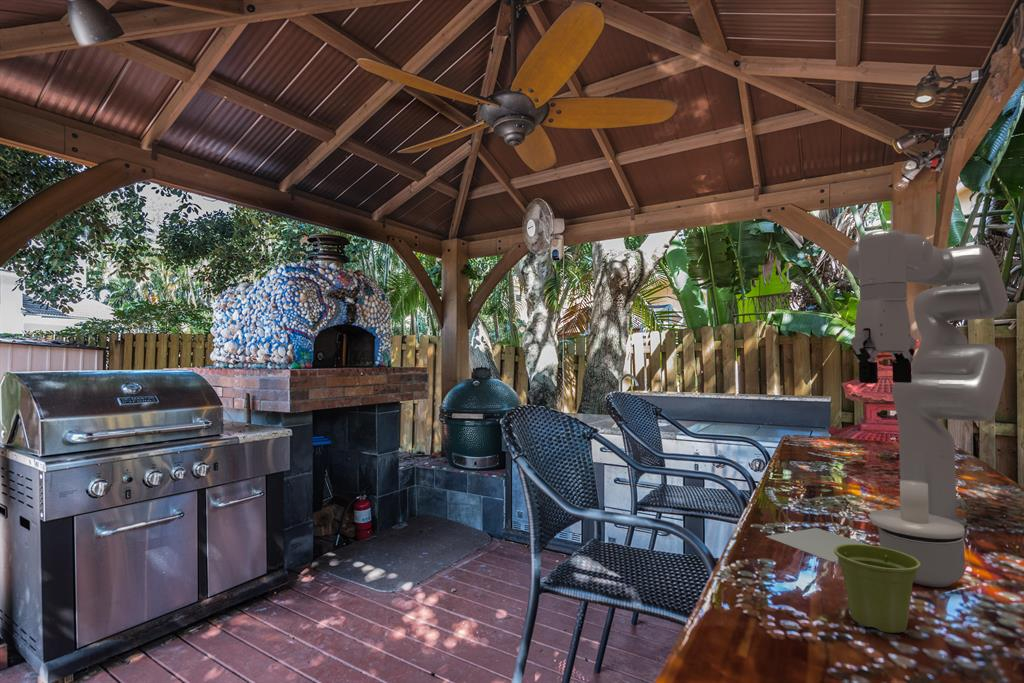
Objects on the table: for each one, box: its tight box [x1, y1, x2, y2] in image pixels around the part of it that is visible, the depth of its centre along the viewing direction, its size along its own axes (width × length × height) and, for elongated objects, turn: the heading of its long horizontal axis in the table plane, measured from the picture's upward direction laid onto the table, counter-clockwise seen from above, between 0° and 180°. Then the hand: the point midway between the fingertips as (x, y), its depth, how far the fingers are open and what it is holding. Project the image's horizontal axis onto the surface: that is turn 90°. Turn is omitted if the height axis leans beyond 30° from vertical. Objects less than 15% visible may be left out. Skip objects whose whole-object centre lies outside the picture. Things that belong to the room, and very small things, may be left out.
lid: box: [869, 479, 965, 539], centre depth 83 cm, size 12×12×7 cm
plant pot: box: [834, 544, 921, 634], centre depth 69 cm, size 9×9×9 cm
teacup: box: [877, 526, 966, 588], centre depth 83 cm, size 14×11×8 cm
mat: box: [765, 527, 869, 563], centre depth 97 cm, size 14×14×1 cm
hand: (885, 382), depth 101 cm, fingers open, 9 cm apart
